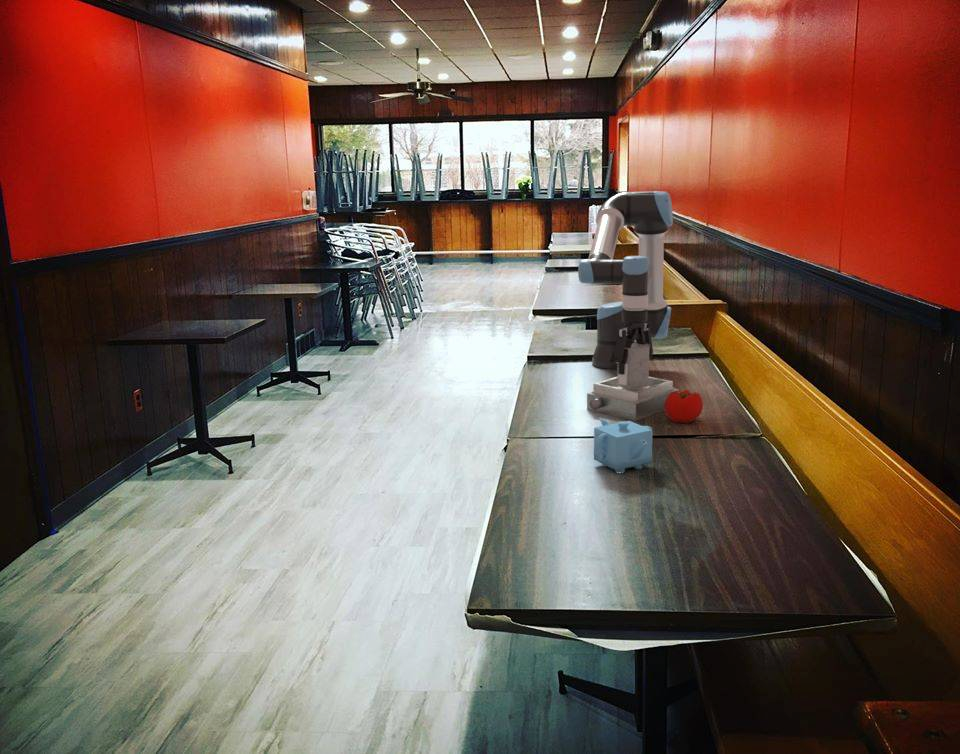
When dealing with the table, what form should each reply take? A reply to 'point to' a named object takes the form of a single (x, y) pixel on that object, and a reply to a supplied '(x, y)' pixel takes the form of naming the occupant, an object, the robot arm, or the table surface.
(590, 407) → the gearbox
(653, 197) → the robot arm
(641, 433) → the teapot
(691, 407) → the tomato
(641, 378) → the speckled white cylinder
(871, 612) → the table surface
